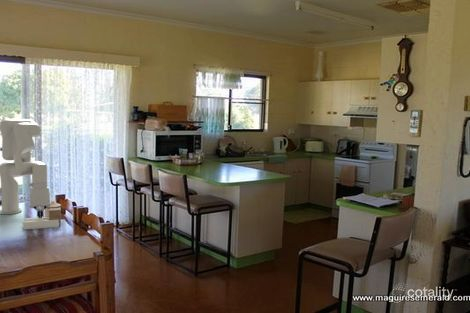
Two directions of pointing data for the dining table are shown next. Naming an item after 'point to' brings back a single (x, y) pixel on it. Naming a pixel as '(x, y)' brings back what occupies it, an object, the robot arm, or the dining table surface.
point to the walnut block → (55, 214)
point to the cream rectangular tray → (39, 223)
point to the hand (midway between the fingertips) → (40, 217)
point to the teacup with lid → (53, 205)
